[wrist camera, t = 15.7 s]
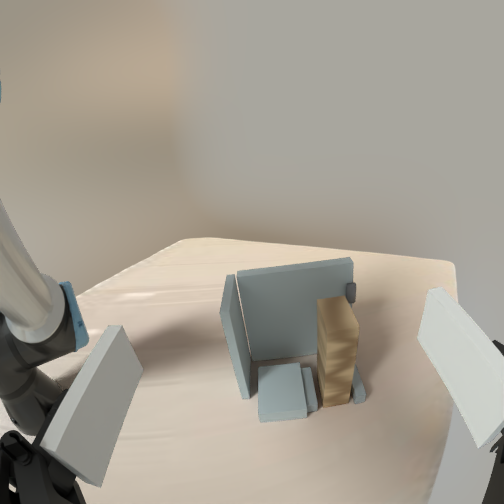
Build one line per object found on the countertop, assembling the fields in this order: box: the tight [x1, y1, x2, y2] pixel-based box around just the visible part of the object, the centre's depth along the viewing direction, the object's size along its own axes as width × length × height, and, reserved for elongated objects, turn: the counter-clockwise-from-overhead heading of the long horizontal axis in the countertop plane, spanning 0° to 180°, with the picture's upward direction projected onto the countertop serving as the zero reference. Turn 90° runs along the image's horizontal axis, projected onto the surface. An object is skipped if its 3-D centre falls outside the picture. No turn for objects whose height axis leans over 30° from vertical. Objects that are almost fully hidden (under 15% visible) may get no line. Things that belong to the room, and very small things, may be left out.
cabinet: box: [220, 257, 366, 422], centre depth 40 cm, size 20×16×18 cm
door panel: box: [317, 295, 360, 408], centre depth 37 cm, size 4×7×16 cm, turn 179°
